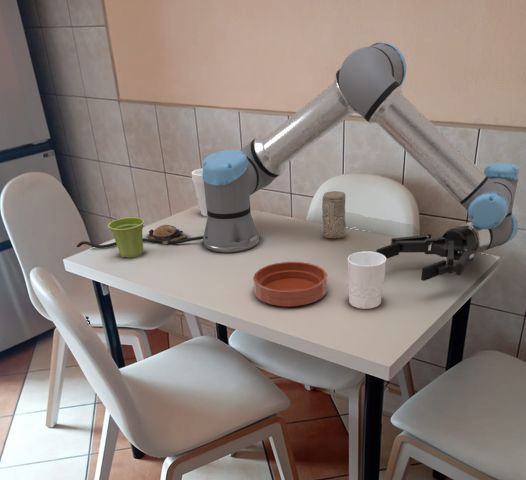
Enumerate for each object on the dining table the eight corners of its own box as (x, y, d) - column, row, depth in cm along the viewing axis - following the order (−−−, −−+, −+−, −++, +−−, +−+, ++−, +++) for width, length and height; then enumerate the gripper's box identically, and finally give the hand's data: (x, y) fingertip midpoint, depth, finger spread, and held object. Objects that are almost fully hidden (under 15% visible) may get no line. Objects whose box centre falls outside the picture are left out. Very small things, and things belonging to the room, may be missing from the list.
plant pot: (119, 263, 149) (112, 231, 144) (110, 252, 156) (103, 221, 152) (153, 255, 152) (148, 224, 148) (143, 245, 160) (137, 214, 155)
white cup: (390, 306, 120) (393, 262, 115) (355, 313, 119) (357, 268, 113) (373, 291, 127) (375, 249, 122) (340, 297, 125) (341, 254, 120)
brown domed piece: (189, 238, 163) (188, 225, 161) (163, 246, 158) (162, 233, 156) (170, 229, 170) (168, 217, 168) (145, 236, 166) (143, 224, 164)
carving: (345, 232, 160) (346, 189, 154) (345, 241, 154) (346, 197, 147) (323, 232, 161) (323, 189, 155) (321, 241, 155) (321, 197, 148)
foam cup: (221, 218, 176) (217, 175, 169) (192, 217, 178) (187, 175, 171) (229, 208, 184) (225, 167, 177) (201, 208, 186) (197, 167, 179)
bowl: (242, 301, 126) (240, 285, 124) (273, 273, 138) (272, 258, 136) (310, 313, 119) (310, 296, 117) (337, 283, 132) (337, 266, 130)
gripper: (508, 272, 126) (442, 299, 117) (422, 242, 145) (359, 263, 135) (514, 240, 123) (446, 265, 113) (425, 213, 141) (360, 233, 131)
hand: (399, 264), depth 124 cm, fingers open, 13 cm apart
